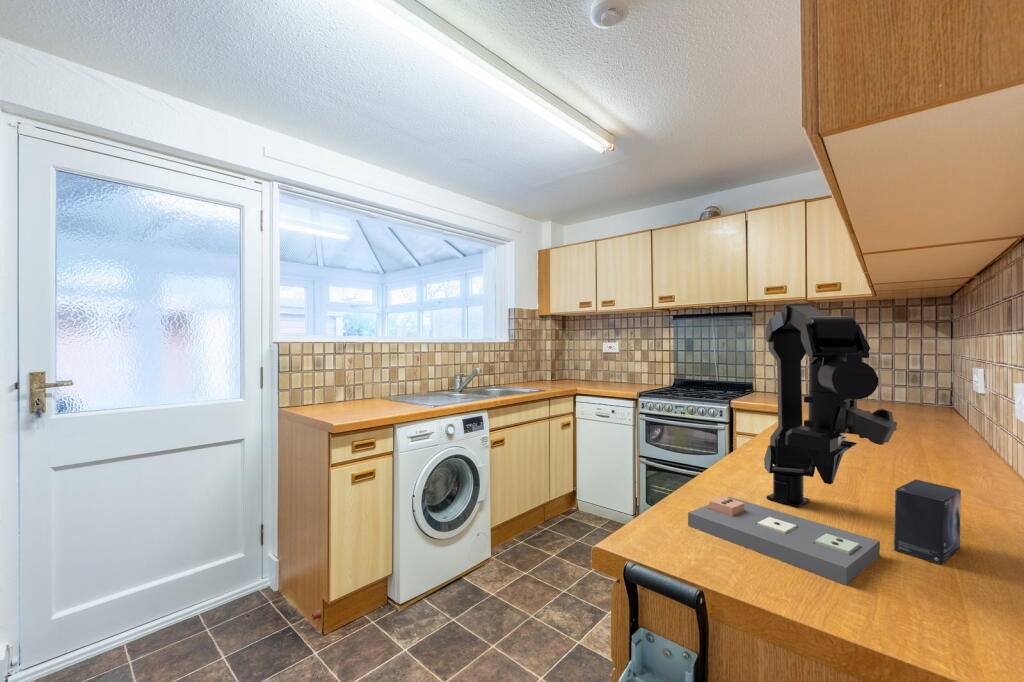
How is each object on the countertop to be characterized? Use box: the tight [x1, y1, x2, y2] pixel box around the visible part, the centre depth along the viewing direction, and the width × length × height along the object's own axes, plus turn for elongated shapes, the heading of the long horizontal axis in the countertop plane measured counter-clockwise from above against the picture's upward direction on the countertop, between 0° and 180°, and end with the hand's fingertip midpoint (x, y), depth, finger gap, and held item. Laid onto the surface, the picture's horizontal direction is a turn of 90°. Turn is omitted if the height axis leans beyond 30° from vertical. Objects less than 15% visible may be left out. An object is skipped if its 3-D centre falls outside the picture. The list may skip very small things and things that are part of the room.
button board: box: [687, 496, 881, 586], centre depth 77 cm, size 15×25×2 cm, turn 36°
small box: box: [893, 479, 962, 566], centre depth 74 cm, size 11×6×10 cm, turn 123°
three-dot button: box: [708, 496, 744, 517], centre depth 85 cm, size 4×4×3 cm
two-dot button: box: [815, 534, 859, 556], centre depth 70 cm, size 4×4×3 cm
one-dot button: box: [757, 517, 796, 534], centre depth 77 cm, size 4×4×3 cm
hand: (828, 483), depth 74 cm, fingers closed
